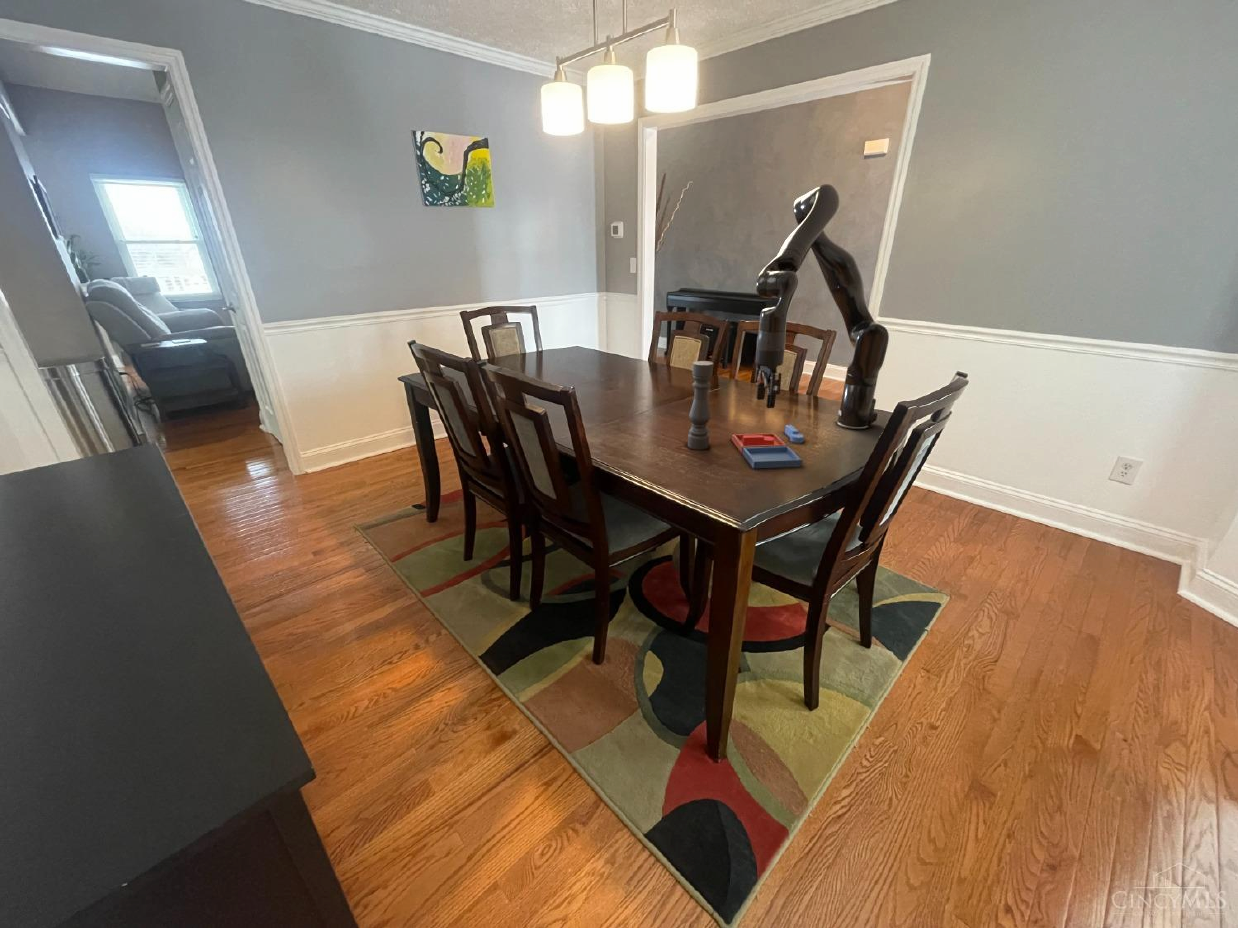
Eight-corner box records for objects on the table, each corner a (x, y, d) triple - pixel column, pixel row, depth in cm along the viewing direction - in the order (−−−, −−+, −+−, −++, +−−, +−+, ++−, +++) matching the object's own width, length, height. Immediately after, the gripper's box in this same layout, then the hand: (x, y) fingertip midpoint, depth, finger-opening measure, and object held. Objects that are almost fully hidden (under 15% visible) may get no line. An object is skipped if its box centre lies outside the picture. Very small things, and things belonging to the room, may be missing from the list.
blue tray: (787, 452, 142) (787, 446, 141) (801, 466, 133) (802, 460, 132) (742, 454, 142) (742, 447, 141) (753, 468, 132) (754, 461, 131)
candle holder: (709, 443, 149) (715, 361, 139) (706, 450, 144) (712, 366, 134) (689, 441, 151) (694, 360, 141) (685, 448, 146) (689, 364, 136)
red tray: (773, 439, 152) (774, 433, 151) (786, 451, 143) (786, 445, 142) (731, 440, 152) (732, 434, 151) (741, 452, 142) (742, 446, 141)
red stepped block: (744, 447, 145) (745, 438, 144) (740, 442, 149) (741, 434, 148) (775, 446, 146) (776, 437, 145) (771, 441, 149) (772, 433, 148)
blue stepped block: (781, 432, 157) (782, 425, 156) (793, 432, 158) (794, 424, 157) (792, 443, 149) (794, 435, 148) (805, 442, 149) (806, 434, 148)
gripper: (793, 351, 130) (787, 410, 136) (774, 342, 143) (769, 396, 149) (766, 352, 129) (760, 411, 136) (749, 343, 142) (745, 397, 149)
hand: (765, 403), depth 143 cm, fingers open, 8 cm apart
